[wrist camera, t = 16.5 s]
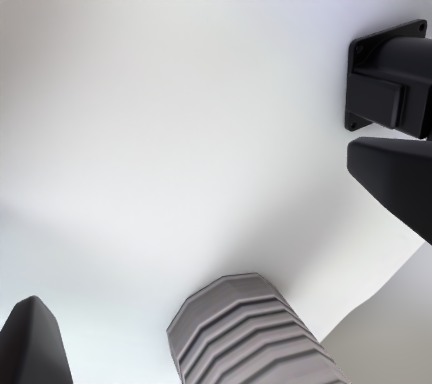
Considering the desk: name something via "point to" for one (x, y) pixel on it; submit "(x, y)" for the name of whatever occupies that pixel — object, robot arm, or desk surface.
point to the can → (246, 338)
